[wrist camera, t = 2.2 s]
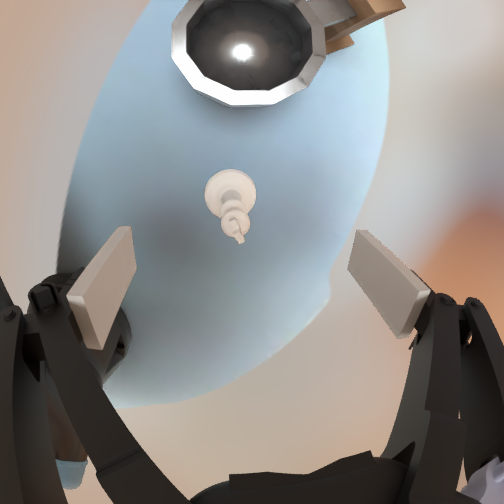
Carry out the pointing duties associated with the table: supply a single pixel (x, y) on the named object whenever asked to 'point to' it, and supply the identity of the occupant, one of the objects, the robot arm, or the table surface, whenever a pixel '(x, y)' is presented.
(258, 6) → the cup bracket
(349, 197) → the table surface
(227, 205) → the chess piece
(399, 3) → the walnut post
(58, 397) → the robot arm
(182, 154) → the table surface
